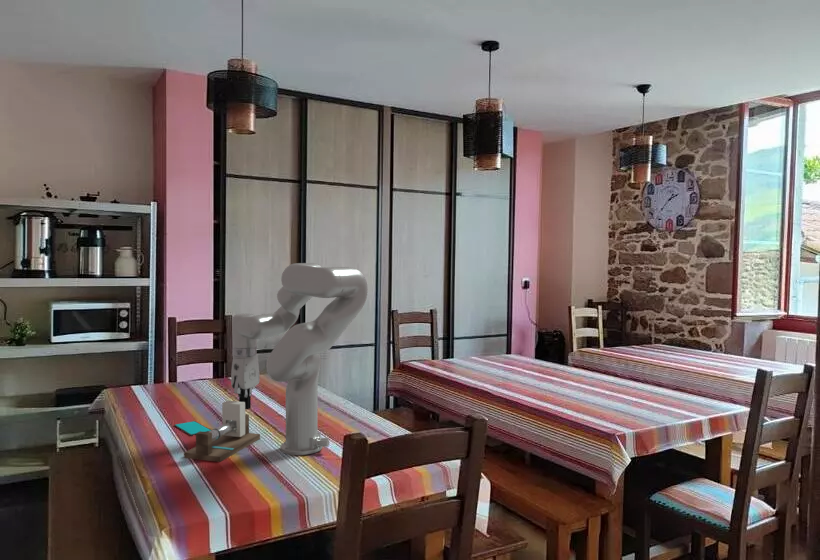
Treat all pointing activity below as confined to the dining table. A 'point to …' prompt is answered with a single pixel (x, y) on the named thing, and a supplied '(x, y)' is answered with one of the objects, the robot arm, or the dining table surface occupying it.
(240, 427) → the collar
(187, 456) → the pipe rig
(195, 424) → the smartphone
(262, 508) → the dining table surface
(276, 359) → the robot arm
